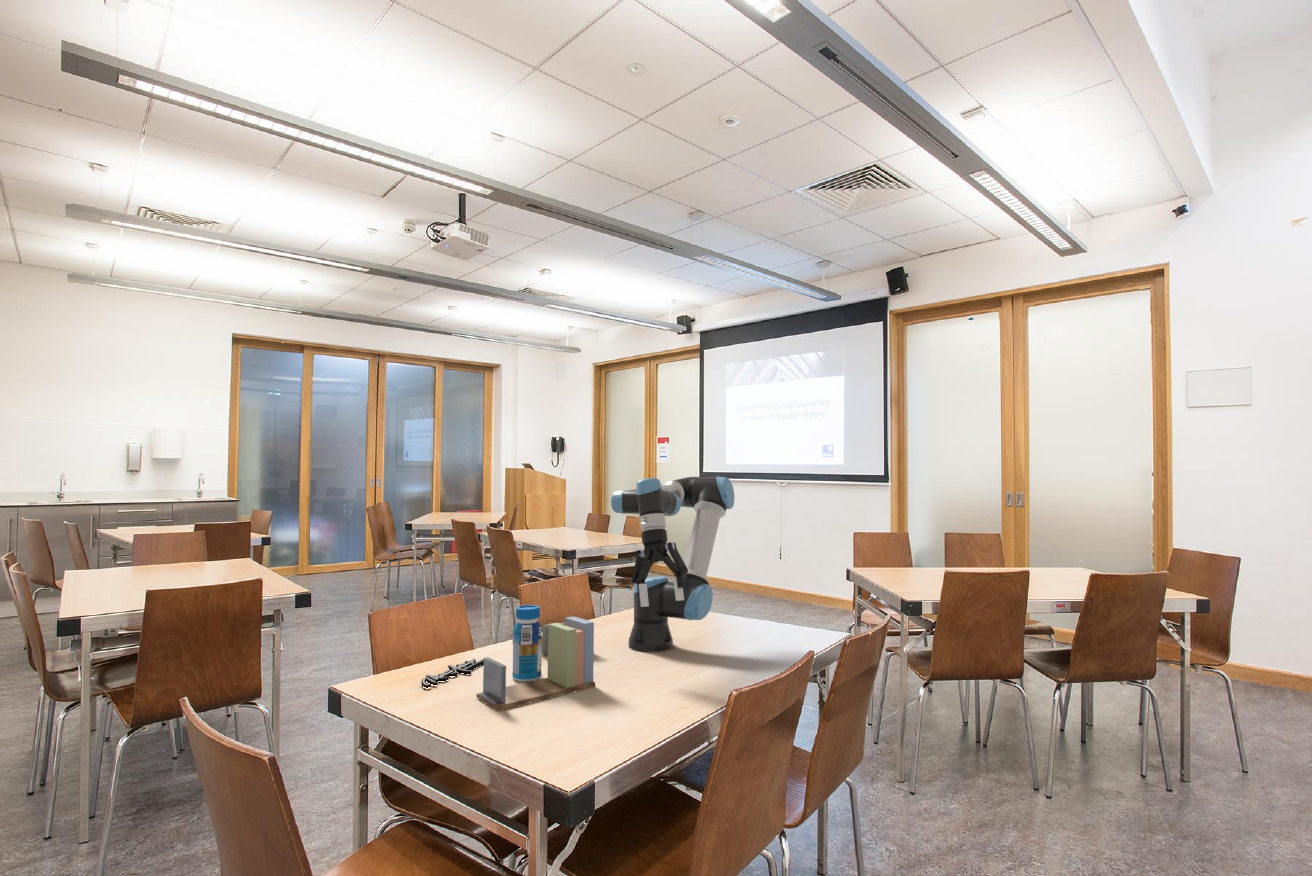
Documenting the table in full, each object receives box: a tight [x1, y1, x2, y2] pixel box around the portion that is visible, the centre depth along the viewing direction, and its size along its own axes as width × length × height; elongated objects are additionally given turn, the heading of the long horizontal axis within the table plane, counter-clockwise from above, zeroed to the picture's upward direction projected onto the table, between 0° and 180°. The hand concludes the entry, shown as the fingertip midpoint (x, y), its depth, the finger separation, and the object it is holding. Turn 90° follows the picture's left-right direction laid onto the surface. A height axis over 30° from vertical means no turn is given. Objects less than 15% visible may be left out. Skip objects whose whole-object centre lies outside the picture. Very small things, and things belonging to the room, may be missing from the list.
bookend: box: [478, 656, 507, 704], centre depth 163 cm, size 2×10×9 cm, turn 40°
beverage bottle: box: [511, 604, 543, 682], centre depth 184 cm, size 8×8×20 cm
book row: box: [547, 616, 595, 688], centre depth 178 cm, size 8×10×16 cm
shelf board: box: [476, 677, 596, 711], centre depth 171 cm, size 29×12×1 cm, turn 130°
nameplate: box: [421, 658, 484, 688], centre depth 186 cm, size 28×2×10 cm
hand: (662, 603), depth 184 cm, fingers open, 13 cm apart
